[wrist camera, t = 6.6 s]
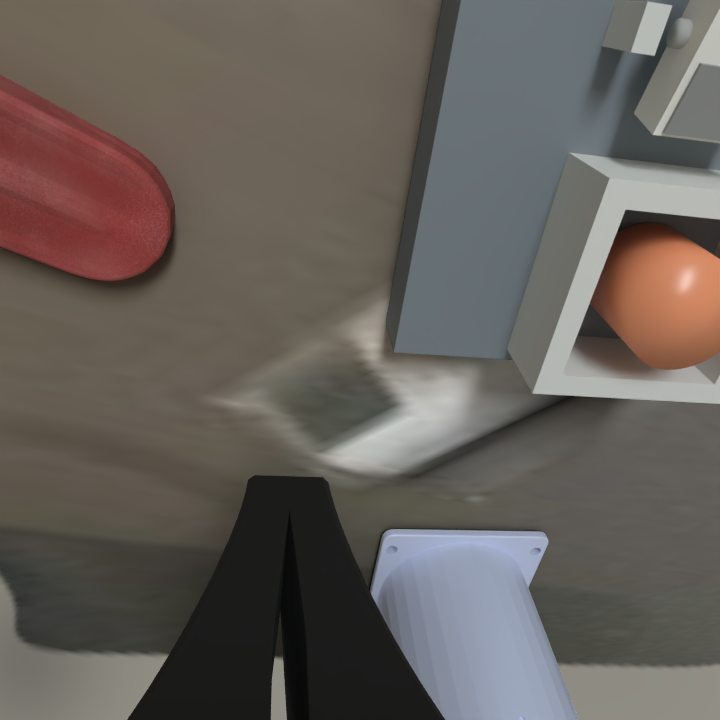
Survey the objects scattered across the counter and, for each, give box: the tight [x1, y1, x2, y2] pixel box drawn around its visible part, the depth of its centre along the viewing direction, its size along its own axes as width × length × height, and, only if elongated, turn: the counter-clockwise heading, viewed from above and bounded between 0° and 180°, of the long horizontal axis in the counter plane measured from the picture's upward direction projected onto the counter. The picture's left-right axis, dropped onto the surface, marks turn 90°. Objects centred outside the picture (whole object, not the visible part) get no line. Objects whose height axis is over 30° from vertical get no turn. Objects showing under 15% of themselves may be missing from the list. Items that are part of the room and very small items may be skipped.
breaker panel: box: [386, 0, 720, 404], centre depth 16 cm, size 12×11×4 cm
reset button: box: [590, 223, 720, 370], centre depth 17 cm, size 3×3×3 cm
